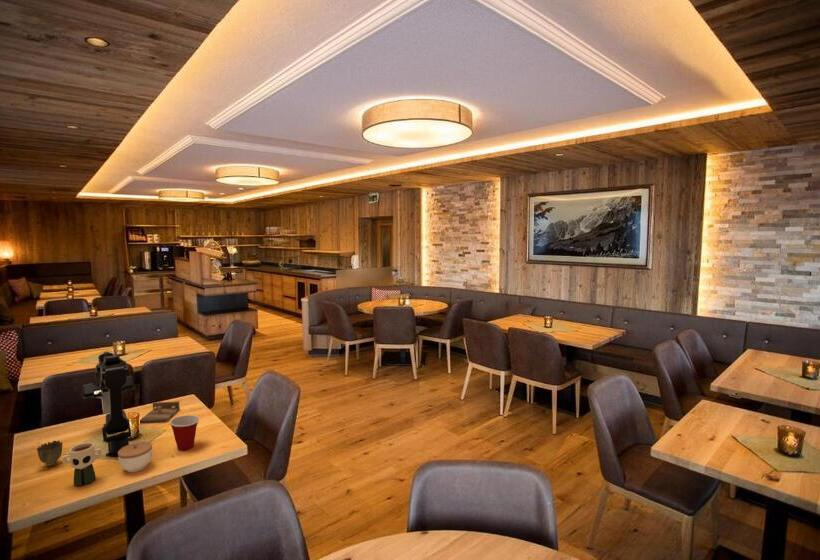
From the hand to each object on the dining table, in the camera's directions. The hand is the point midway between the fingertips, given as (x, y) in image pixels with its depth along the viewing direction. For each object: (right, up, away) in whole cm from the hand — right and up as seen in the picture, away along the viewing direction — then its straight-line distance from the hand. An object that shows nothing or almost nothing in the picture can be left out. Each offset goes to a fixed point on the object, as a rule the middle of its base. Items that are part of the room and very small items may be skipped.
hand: (108, 396), depth 194 cm
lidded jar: (+37, -17, -36) cm, 54 cm away
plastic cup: (+47, -16, -21) cm, 54 cm away
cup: (+3, -17, -34) cm, 38 cm away
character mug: (+24, -18, -45) cm, 54 cm away
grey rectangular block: (+1, -7, 0) cm, 7 cm away
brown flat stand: (+19, -12, +9) cm, 24 cm away
